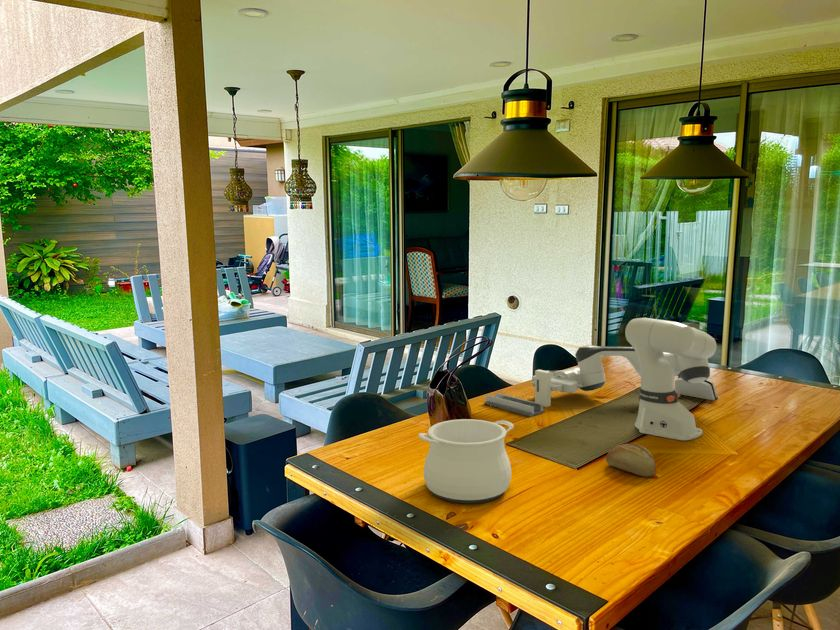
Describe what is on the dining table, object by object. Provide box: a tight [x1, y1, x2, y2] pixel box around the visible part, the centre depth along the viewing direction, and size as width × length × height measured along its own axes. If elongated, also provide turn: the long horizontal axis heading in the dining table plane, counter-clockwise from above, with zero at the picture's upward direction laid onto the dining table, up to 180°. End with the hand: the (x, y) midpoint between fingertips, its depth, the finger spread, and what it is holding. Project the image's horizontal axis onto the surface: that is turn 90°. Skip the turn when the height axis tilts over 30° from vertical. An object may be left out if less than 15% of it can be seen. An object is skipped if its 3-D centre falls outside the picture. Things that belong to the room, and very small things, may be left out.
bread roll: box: [605, 441, 656, 478], centre depth 192 cm, size 10×15×8 cm, turn 46°
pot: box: [417, 418, 515, 505], centre depth 180 cm, size 28×24×17 cm
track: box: [483, 392, 546, 418], centre depth 258 cm, size 24×9×4 cm, turn 41°
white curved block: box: [674, 376, 719, 401], centre depth 270 cm, size 17×5×10 cm, turn 43°
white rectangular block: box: [534, 369, 552, 408], centre depth 261 cm, size 6×3×14 cm, turn 41°
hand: (542, 386), depth 261 cm, fingers open, 8 cm apart
